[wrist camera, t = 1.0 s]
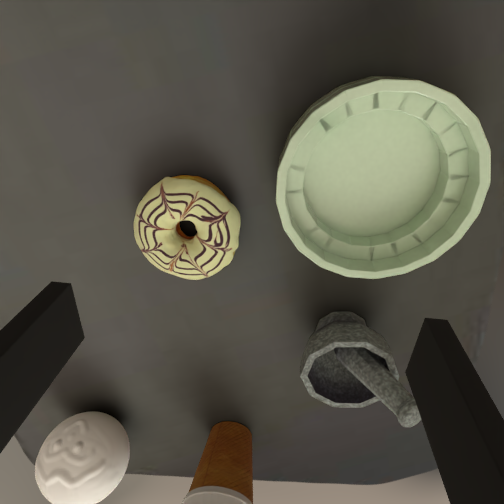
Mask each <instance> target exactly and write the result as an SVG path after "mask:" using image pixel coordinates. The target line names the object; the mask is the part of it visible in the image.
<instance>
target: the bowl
mask: <svg viewBox="0 0 504 504" xmlns="http://www.w3.org/2000/svg"><path fill="white" fill-rule="evenodd" d="M490 182H491V150H490V147H489V144H488V141H487V139H486V136H485V134H484V131H483V129H482V126H481V124H480V121H479V119H478V117H477V116H476V115H475V114H474V113H473V112H472V111H471V110H470V109H469V108H468V107H467V106H466V105H465V104H464V103H463V102H462V101H461V100H460V99H459V98H458V97H457V96H456V95H454V94H453V93H450V92H448V91H445V90H443V89H441V88H438V87H436V86H433V85H431V84H428V83H426V82H424V81H421V80H416V79H412V78H407V77H389V76H370V77H366V78H363V79H360V80H356V81H353V82H350V83H347V84H343V85H340V86H338V87H336V88H335V89H333V90H332V91H330V92H329V93H328V94H326V95H325V96H323V97H322V98H320V99H319V100H317V101H316V102H314V103H313V104H311V106H309V108H308V109H307V110H306V111H305V113H304V114H303V115H302V116H301V118H300V119H299V120H298V121H297V123H296V124H295V125H294V126H293V128H292V129H291V131H290V133H289V135H288V138H287V140H286V143H285V145H284V148H283V150H282V153H281V156H280V159H279V165H278V171H277V187H276V204H277V208H278V211H279V215H280V218H281V222H282V226H283V228H284V230H285V232H286V233H287V235H288V236H289V238H290V239H291V241H292V242H293V243H294V245H295V246H296V248H297V249H298V251H300V252H301V253H302V254H304V255H305V256H306V257H308V258H309V259H310V260H312V261H313V262H314V263H316V264H317V265H318V266H320V267H321V268H324V269H327V270H329V271H332V272H335V273H338V274H340V275H343V276H347V277H355V278H368V279H375V278H376V279H378V278H383V277H389V276H394V275H400V274H405V273H407V272H410V271H412V270H414V269H416V268H419V267H421V266H423V265H425V264H428V263H430V262H432V261H434V260H436V259H437V258H438V257H439V256H441V255H442V254H443V253H444V252H446V251H447V250H448V249H450V248H451V247H452V246H453V245H455V244H456V243H457V242H458V241H459V240H460V239H461V238H462V237H463V235H464V234H465V233H466V231H467V230H468V229H469V227H470V226H471V224H472V223H473V222H474V220H475V219H476V218H477V216H478V215H479V213H480V211H481V208H482V205H483V202H484V199H485V197H486V194H487V191H488V188H489V185H490Z"/></svg>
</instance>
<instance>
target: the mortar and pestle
mask: <svg viewBox="0 0 504 504" xmlns="http://www.w3.org/2000/svg"><path fill="white" fill-rule="evenodd" d="M300 376H301V378H302V380H303V382H304V384H305V386H306V388H307V390H308V392H309V394H310V396H312V397H314V398H316V399H318V400H320V401H322V402H324V403H326V404H328V405H330V406H332V407H350V408H363V407H365V406H367V405H370V404H372V403H374V402H377V401H379V400H381V401H382V402H383V403H384V404H385V405H386V406H387V407H388V408H389V409H390V410H391V411H392V412H393V413H394V414H395V415H396V416H397V418H398V421H399V423H400V424H401V425H402V426H404V427H412V426H414V425H416V424H417V423H418V422H419V421H420V420H421V416H420V413H419V411H418V408H417V405H416V402H415V399H414V397H413V396H412V395H411V394H410V393H409V392H408V391H407V390H406V389H405V388H404V387H403V386H402V384H401V383H400V382H399V381H398V378H399V375H398V372H397V369H396V366H395V363H394V360H393V357H392V354H391V351H390V348H389V346H388V344H387V342H386V340H385V339H384V337H383V336H381V335H380V334H378V333H377V332H375V331H374V330H372V329H370V328H368V327H367V326H366V323H365V320H364V319H363V318H361V317H359V316H358V315H356V314H354V313H352V312H332V313H330V314H329V315H327V316H325V317H323V318H322V319H320V320H319V322H318V325H317V327H316V330H315V332H314V333H313V334H312V335H311V336H310V338H309V341H308V343H307V346H306V348H305V351H304V353H303V356H302V360H301V366H300Z"/></svg>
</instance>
